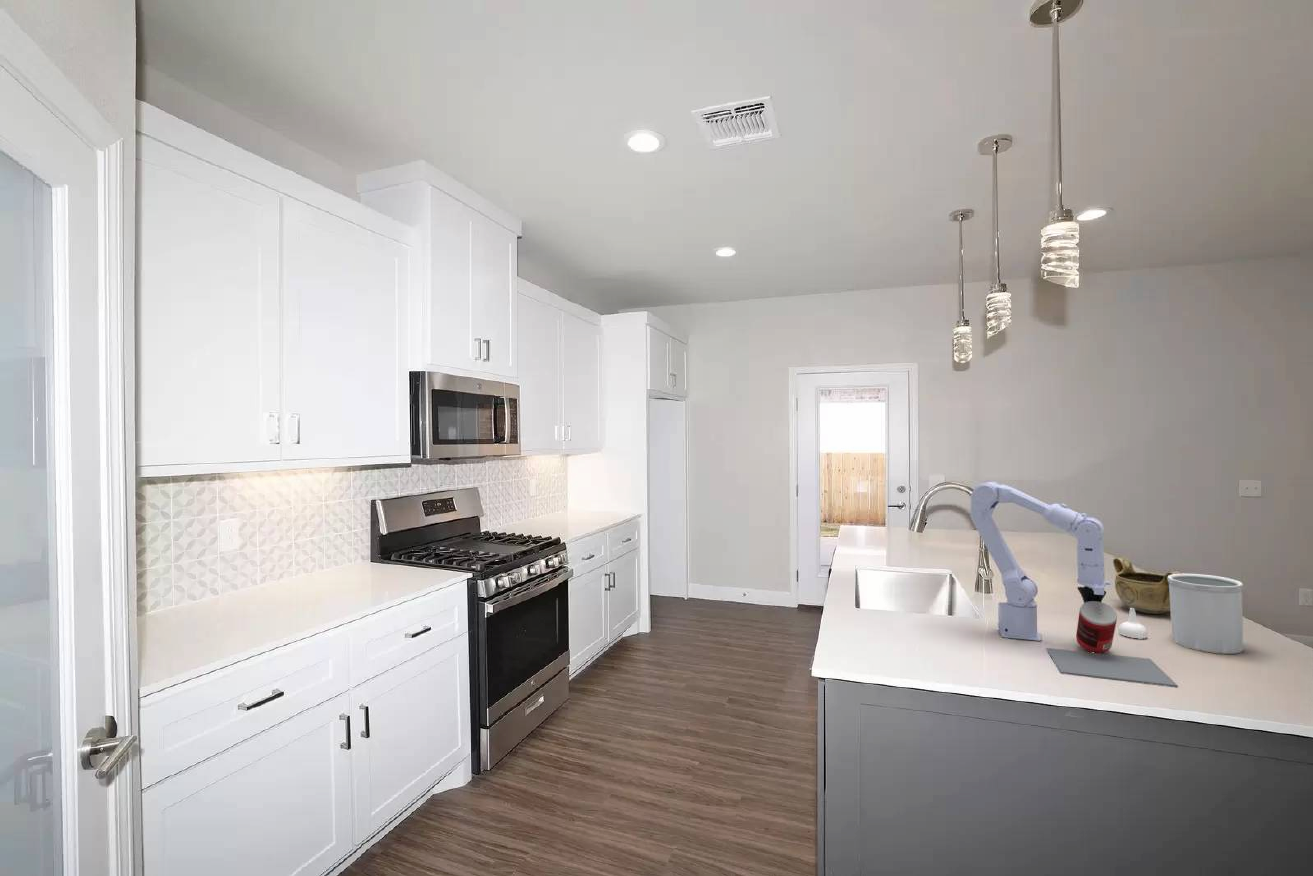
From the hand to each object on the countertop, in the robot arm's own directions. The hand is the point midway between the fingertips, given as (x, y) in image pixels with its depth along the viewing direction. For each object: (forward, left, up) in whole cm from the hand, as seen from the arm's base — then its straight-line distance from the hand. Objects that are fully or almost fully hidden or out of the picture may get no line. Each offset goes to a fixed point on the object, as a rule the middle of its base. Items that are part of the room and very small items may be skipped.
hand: (1092, 615), depth 157 cm
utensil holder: (+28, +13, -9) cm, 32 cm away
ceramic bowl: (+25, +44, -9) cm, 51 cm away
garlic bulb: (+13, +15, -9) cm, 22 cm away
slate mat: (0, -13, -9) cm, 16 cm away
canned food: (0, -1, -7) cm, 7 cm away
